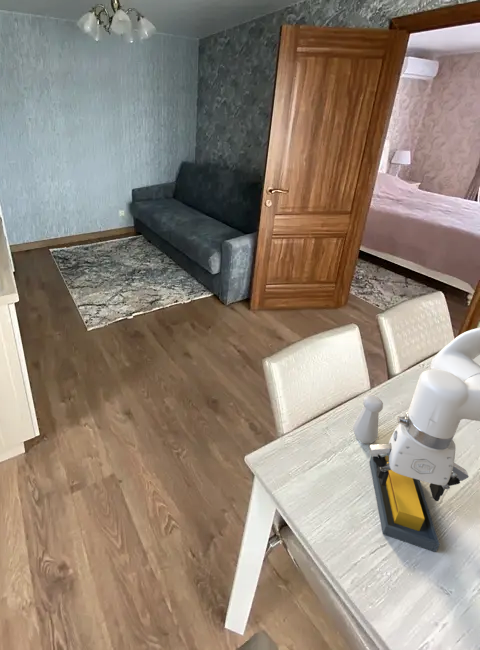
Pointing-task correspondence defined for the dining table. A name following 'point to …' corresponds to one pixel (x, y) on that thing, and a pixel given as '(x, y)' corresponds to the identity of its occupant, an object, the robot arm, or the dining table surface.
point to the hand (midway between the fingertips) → (406, 486)
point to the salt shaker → (368, 420)
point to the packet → (404, 501)
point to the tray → (389, 528)
